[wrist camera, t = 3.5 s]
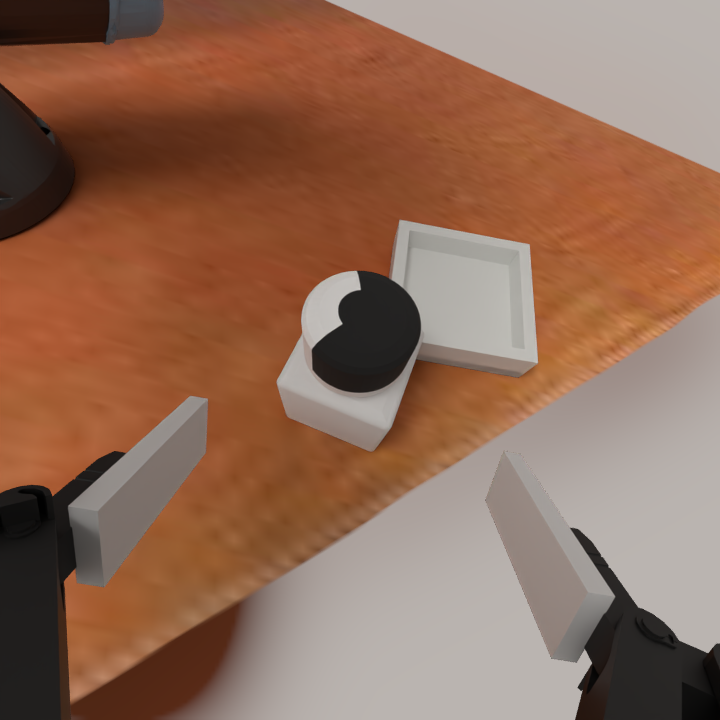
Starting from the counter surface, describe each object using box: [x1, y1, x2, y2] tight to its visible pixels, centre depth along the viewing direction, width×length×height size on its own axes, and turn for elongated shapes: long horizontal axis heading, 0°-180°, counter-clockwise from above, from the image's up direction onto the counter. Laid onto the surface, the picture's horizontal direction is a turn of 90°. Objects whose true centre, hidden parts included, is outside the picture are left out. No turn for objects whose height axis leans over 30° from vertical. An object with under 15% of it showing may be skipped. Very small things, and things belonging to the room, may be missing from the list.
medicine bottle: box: [277, 271, 424, 452], centre depth 23 cm, size 7×7×12 cm
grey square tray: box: [389, 220, 538, 378], centre depth 31 cm, size 12×12×3 cm
